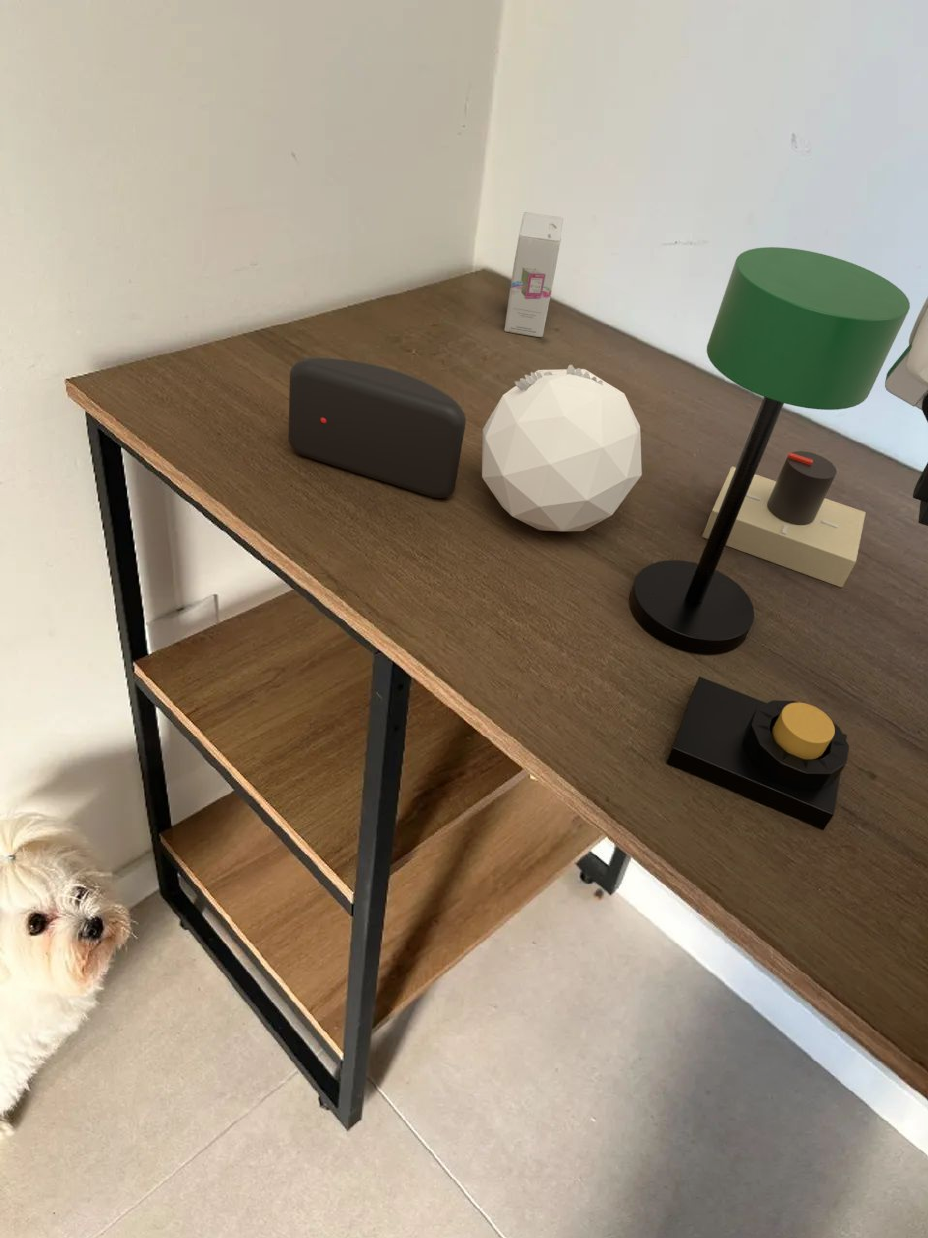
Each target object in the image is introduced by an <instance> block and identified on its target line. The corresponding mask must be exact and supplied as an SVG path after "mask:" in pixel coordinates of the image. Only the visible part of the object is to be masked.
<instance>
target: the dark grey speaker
mask: <svg viewBox="0 0 928 1238" xmlns="http://www.w3.org/2000/svg"><path fill="white" fill-rule="evenodd" d="M288 391H289V393H288V395H289V397H288V438H287V439H288V442H289V446H290V447H291V448H292V449H293V451H295V452H296V453H297V454H299V455H300V456H303V457H305V458H308V459H312V460H315V461H318V462H321V463H323V464H327V465H330V466H334V467H337V468H339V469H343V470H346V471H349V472H352V473H355V474H358V475H361V476H365V477H368V478H370V479H374V480H377V481H380V482H384V483H387V484H390V485H394V486H396V487H399V488H402V489H406V490H407V491H412V492H415V493H418V494H421V495H423V496H427V497H431V498H435V499H446V498H448V497H450V496H452V495H453V493H454V492H455V490H456V484H457V478H458V473H459V466H460V460H461V453H462V448H463V441H464V436H465V429H466V423H467V420H466V415H465V413H464V410H463V408H462V406H461V405H460V404H459V403H458V402H457V400H455V399H454V398H453V397H451V396H450V395H449V394H447V393H446V392H444V391H442V390H441V389H439V388H438V387H436V386H434V385H432V384H430V383H428V382H426V381H424V380H422V379H419V378H417V377H415V376H412V375H409V374H407V373H405V372H401V371H399V370H395V369H391V368H388V367H384V366H381V365H376V364H374V363H373V364H372V363H367V362H364V361H363V362H362V361H357V360H350V359H344V358H333V357H308V358H304V359H300V360H299V361H297V362H295V363H294V364H293V365H292V366H291V368H290V371H289V390H288Z"/></svg>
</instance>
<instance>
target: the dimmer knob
mask: <svg viewBox="0 0 928 1238" xmlns="http://www.w3.org/2000/svg"><path fill="white" fill-rule="evenodd" d="M836 475H837V467H836V466H835V465H834V464H833V463H832V462H831V461H830V460H829V459H827V458H825V457H824V456H822V455H819V454H817V453H815V452H810V451H804V450H802V451H801V450H796V451H792V452H789V453H788V455H787V456H786V458H785V461H784V463H783V465H782V468H781V471H780V472H779V474H778V477H777V480H776V484H775V486H774V489H773V491H772V493H771V496H770V498H769V500H768V503H767V506H768V509H769V510H770V512H771V513H772V514H773V515H775V516H776V517H777V518H779V519H781V520H783V521H785V522H788V523H792V524H796V525H806V524H810V523H812V522H813V521H814V519H815V517H816V515H817V513H818V511H819V509H820V507H821V505H822V503H823V501H824V498H826V497H827V494H828V492H829V490H830V488H831V486H832V484H833V482H834V480H835V478H836Z"/></svg>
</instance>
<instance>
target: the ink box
mask: <svg viewBox="0 0 928 1238" xmlns="http://www.w3.org/2000/svg"><path fill="white" fill-rule="evenodd" d="M563 221H564V218H563V217H561V216H557V215H556V216H555V215H548V214H540V213H533V212H523V215H522V219H521V224H520V229H519V234H518V239H517V246H516V250H515V256H514V262H513V268H512V272H511V273H512V274H511V281H510V287H509V294H508V302H507V307H506V308H507V309H506V316H505V323H504V329H503V330H504V332H506V333H512V334H517V335H523V336H529V337H536V338H543V337H544V332H545V327H546V322H547V317H548V310H549V306H550V301H551V295H552V289H553V286H554V279H555V274H556V269H557V262H558V258H559V252H560V245H561V242H562V241H561V240H562V230H563Z"/></svg>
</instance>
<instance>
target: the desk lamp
mask: <svg viewBox="0 0 928 1238" xmlns="http://www.w3.org/2000/svg"><path fill="white" fill-rule="evenodd" d="M910 308H911V303H910V300H909V298H908V297H907V295H906V293H904V291H902V289H900V288H899V287H898V286H897V285H896V284H894V283H893V282H891V281H890V280H888V279H887V278H885V277H883V276H881V275H879V274H878V273H876V272H875V271H872V270H870V269H867V268H866V267H862V266H861V265H858V264H856V263H853V262H850V261H847V260H844V259H841V258H837V257H834V256H832V255H827V254H823V253H819V252H815V251H811V250H805V249H798V248H792V247H791V248H790V247H779V246H777V247H776V246H775V247H774V246H769V247H767V246H765V247H755V248H751V249H748V250H745V251H743V252H742V253H740V254H739V255H738V256H736V259H735V261H734V265H733V267H732V270H731V274H730V276H729V279H728V282H727V285H726V288H725V291H724V294H723V297H722V300H721V303H720V306H719V308H718V312H717V314H716V317H715V320H714V323H713V327H712V329H711V332H710V335H709V338H708V342H707V345H706V354H707V358H708V359H709V361H710V363H711V364H712V365H713V367H714V368H715V369H716V370H717V371H718V372H719V373H720V374H721V375H723V376H724V377H725V378H726V379H729V380H730V381H731V382H733V383H734V384H736V385H738V386H740V387H742V388H744V389H746V390H747V391H749V392H751V393H754V394H756V395H759V396H761V397H763V399H762V402H761V404H760V407H759V409H758V411H757V414H756V417H755V419H754V422H753V424H752V427H751V429H750V431H749V434H748V437H747V439H746V442H745V444H744V447H743V448H742V449H743V450H742V452H741V454H740V457H739V459H738V462H737V464H736V466H735V468H736V470H735V472H734V475H733V477H732V480H731V482H730V485H729V487H728V490H727V492H726V495H725V497H724V500H723V503H722V505H721V508H720V510H719V513H718V515H717V518H716V520H715V523H714V525H713V528H712V530H711V533H710V535H709V538H708V539H707V541H706V543H705V546H704V548H703V551H702V554H701V556H700V558H699V561H698V563H697V562H694V561H688V560H681V559H667V560H660V561H656V562H653V563H650V564H648V565H646V566H645V567H643V568H642V569H641V570H639V572H638V573H637V575H636V576H635V579H634V581H633V584H632V586H631V590H630V592H629V598H628V604H629V608H630V612H631V614H632V616H633V618H634V619H635V620H636V622H637V623H638V625H639V626H640V627H641V628H642V629H643V630H644V631H645V632H647V633H648V634H649V636H652V637H653V638H654V639H656V640H658V641H659V642H660V643H663V644H665V645H667V646H669V647H670V648H673V649H676V650H679V651H682V652H686V653H689V654H695V655H706V656H707V655H709V656H710V655H711V656H712V655H713V656H714V655H721V654H724V653H729V652H731V651H734V650H735V649H737V648H738V647H740V646H741V645H742V644H743V643H744V642H745V641H746V639H747V637H748V634H749V632H750V630H751V628H752V626H753V624H754V621H755V607H754V605H753V602H752V600H751V598H750V596H749V595H748V593H746V591H745V589H743V588H742V587H741V586H740V584H738V583H737V582H736V581H734V579H732V578H730V577H729V576H728V575H726V574H724V573H722V572H721V571H719V570H716V569H717V567H718V564H719V562H720V560H721V557H722V555H723V553H724V551H725V547H726V543H727V541H728V538H729V536H730V533H731V531H732V528H733V526H734V524H735V521H736V519H737V516H738V514H739V511H740V509H741V507H742V504H743V502H744V499H745V497H746V494H747V492H748V490H749V487H750V485H751V482H752V480H753V477H754V475H755V474H756V472H757V471H758V468H759V465H760V463H761V460H762V458H763V456H764V454H765V450H766V448H767V446H768V443H769V441H770V438H771V436H772V434H773V431H774V429H775V427H776V424H777V421H778V419H779V417H780V415H781V412H782V409H783V407H784V404H785V405H790V406H793V407H799V408H803V409H804V408H805V409H812V410H821V411H823V410H824V411H838V410H845V409H846V410H847V409H850V408H855V407H856V406H858V405H860V404H862V403H864V402H865V401H866V399H867V398H868V397H869V395H870V393H871V391H872V389H873V387H874V385H875V382H876V381H877V378H878V377H879V375H880V372H881V370H882V368H883V366H884V363H885V362H886V359H887V357H888V355H889V353H890V351H891V349H892V347H893V345H894V343H895V341H896V338H897V336H898V334H899V332H900V330H901V328H902V326H903V323H904V322H905V320H906V318H907V316H908V314H909V311H910Z"/></svg>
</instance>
